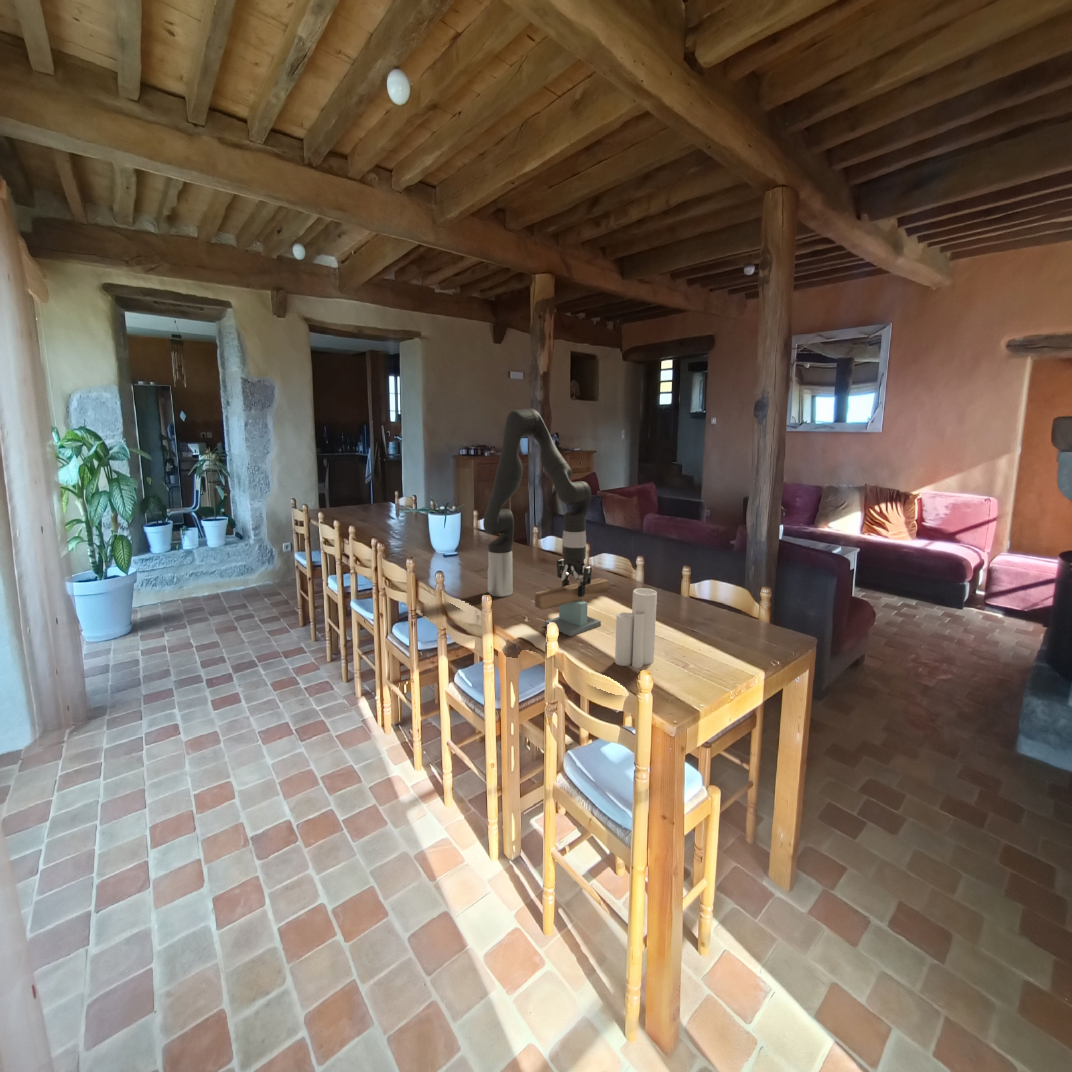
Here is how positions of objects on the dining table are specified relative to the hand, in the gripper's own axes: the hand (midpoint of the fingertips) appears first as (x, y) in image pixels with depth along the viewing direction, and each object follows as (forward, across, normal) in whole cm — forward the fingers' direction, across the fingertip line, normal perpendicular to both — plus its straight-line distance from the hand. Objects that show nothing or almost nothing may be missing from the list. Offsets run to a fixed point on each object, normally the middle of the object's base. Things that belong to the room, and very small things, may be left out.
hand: (573, 593), depth 176 cm
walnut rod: (+2, 0, 0) cm, 2 cm away
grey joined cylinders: (+11, +31, -6) cm, 33 cm away
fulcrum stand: (+11, 0, 0) cm, 11 cm away
